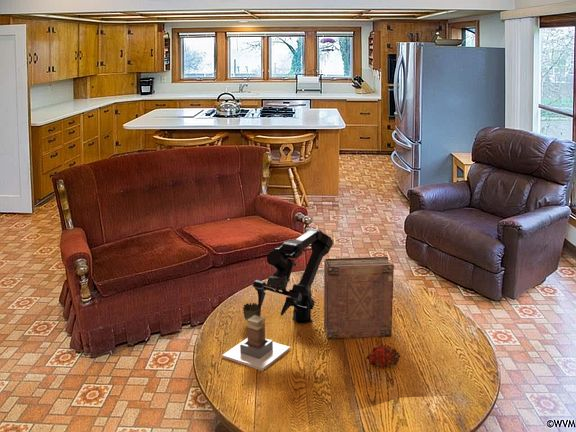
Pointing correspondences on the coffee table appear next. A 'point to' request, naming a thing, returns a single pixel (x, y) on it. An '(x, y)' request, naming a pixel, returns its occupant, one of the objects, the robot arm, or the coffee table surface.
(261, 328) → the walnut post
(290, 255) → the robot arm
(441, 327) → the coffee table surface
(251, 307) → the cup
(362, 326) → the book
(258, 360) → the plate
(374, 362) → the dragon fruit
